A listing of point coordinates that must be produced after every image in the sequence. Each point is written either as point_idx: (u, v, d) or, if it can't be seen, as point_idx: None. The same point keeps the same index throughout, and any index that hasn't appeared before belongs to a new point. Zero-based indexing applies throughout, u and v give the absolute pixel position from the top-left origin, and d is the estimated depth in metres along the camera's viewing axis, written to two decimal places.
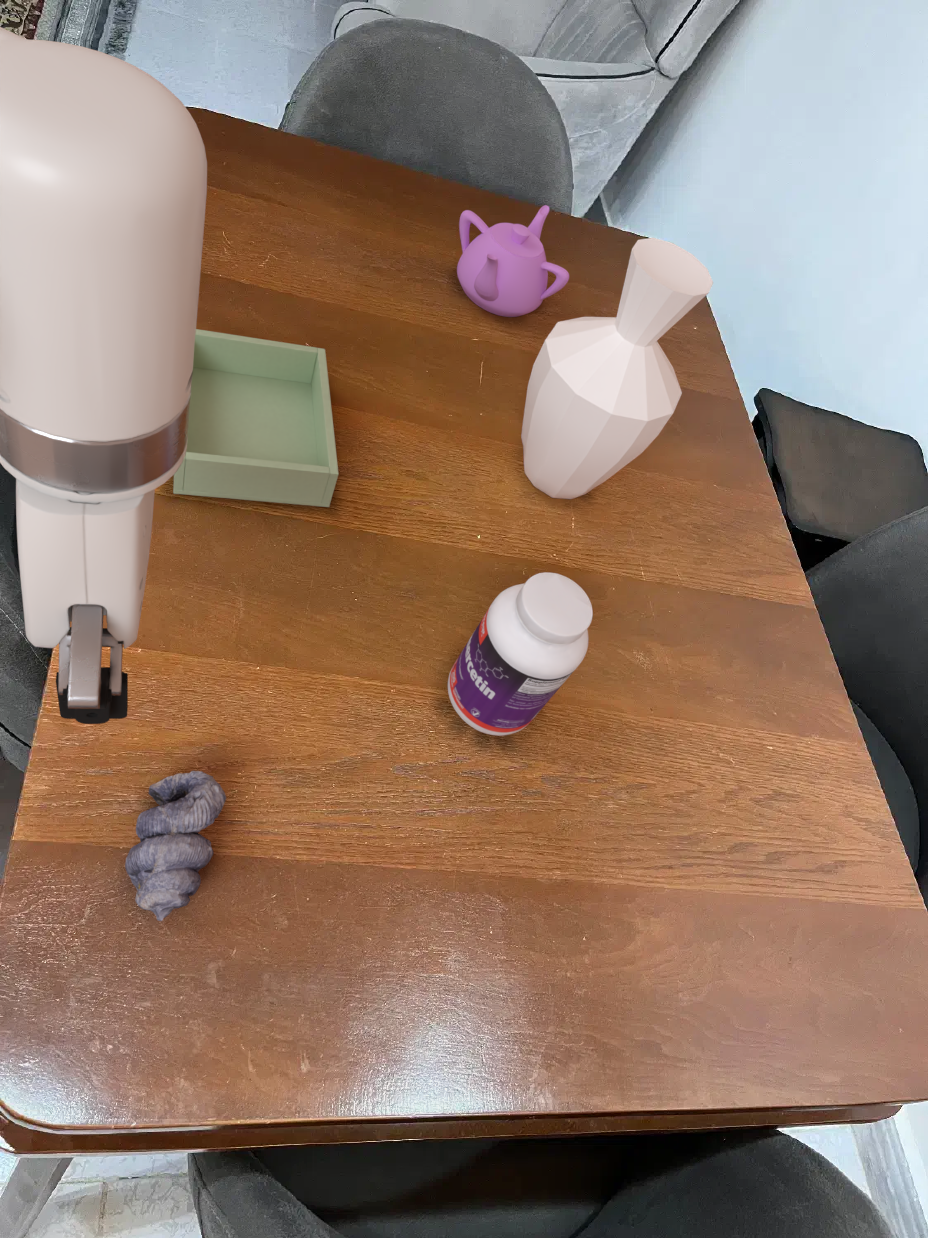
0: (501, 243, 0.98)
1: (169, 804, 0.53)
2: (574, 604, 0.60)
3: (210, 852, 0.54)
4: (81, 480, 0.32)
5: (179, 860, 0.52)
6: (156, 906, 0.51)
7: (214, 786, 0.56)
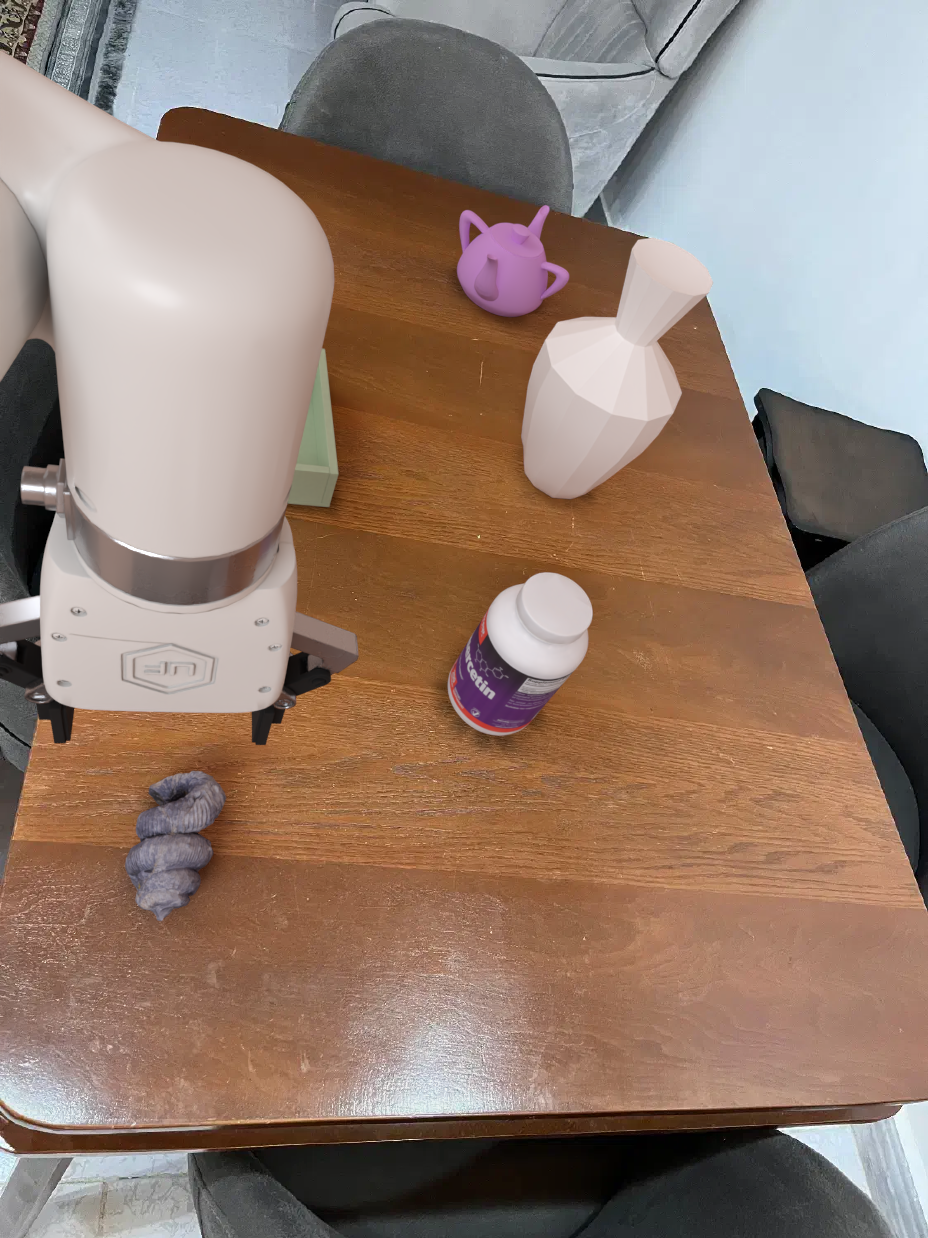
0: (501, 243, 0.98)
1: (169, 804, 0.53)
2: (574, 604, 0.60)
3: (210, 852, 0.54)
4: None
5: (179, 860, 0.52)
6: (156, 906, 0.51)
7: (214, 786, 0.56)
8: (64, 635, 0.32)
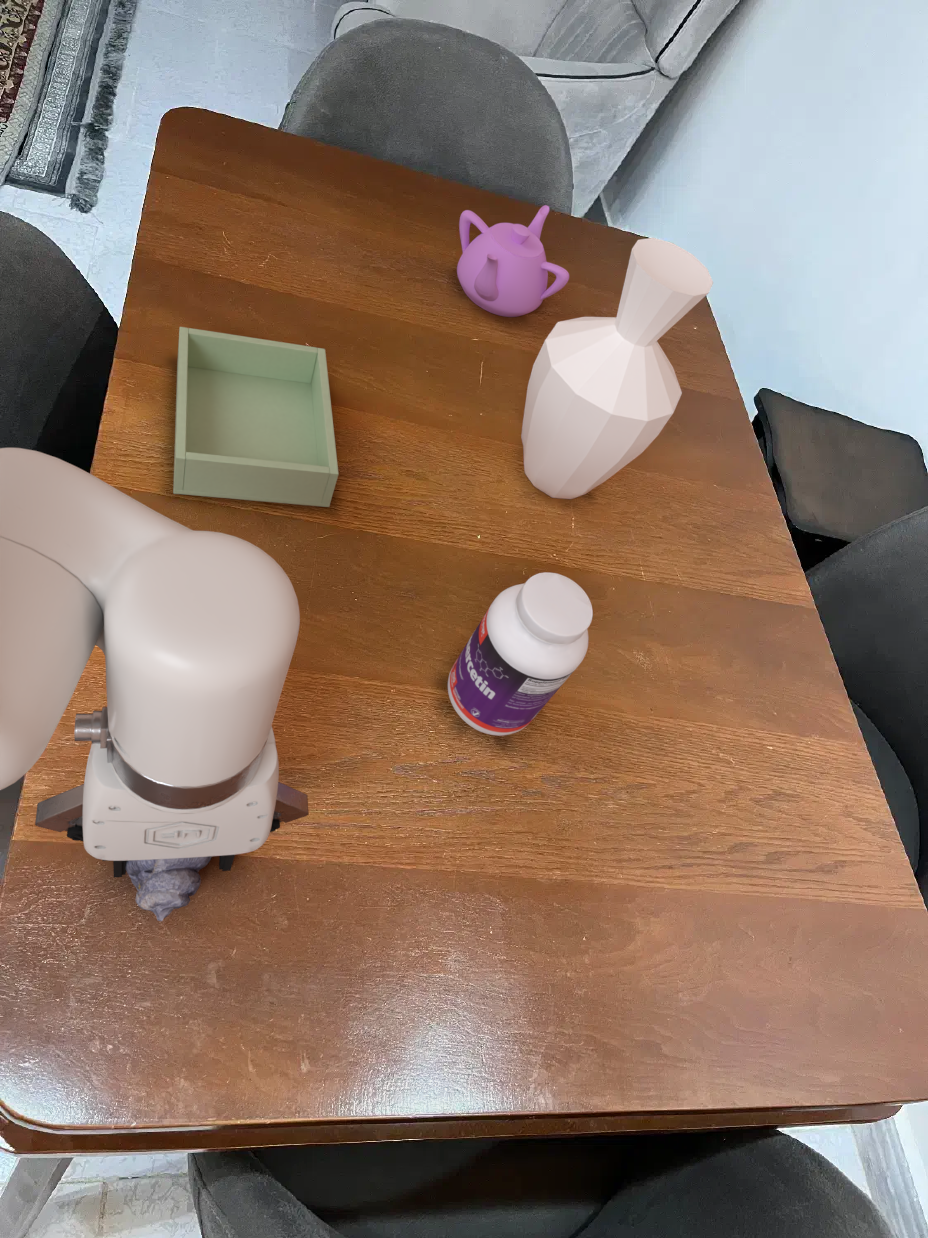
0: (501, 243, 0.98)
1: None
2: (574, 604, 0.60)
3: None
4: None
5: (179, 860, 0.52)
6: (156, 906, 0.51)
7: None
8: (102, 821, 0.43)
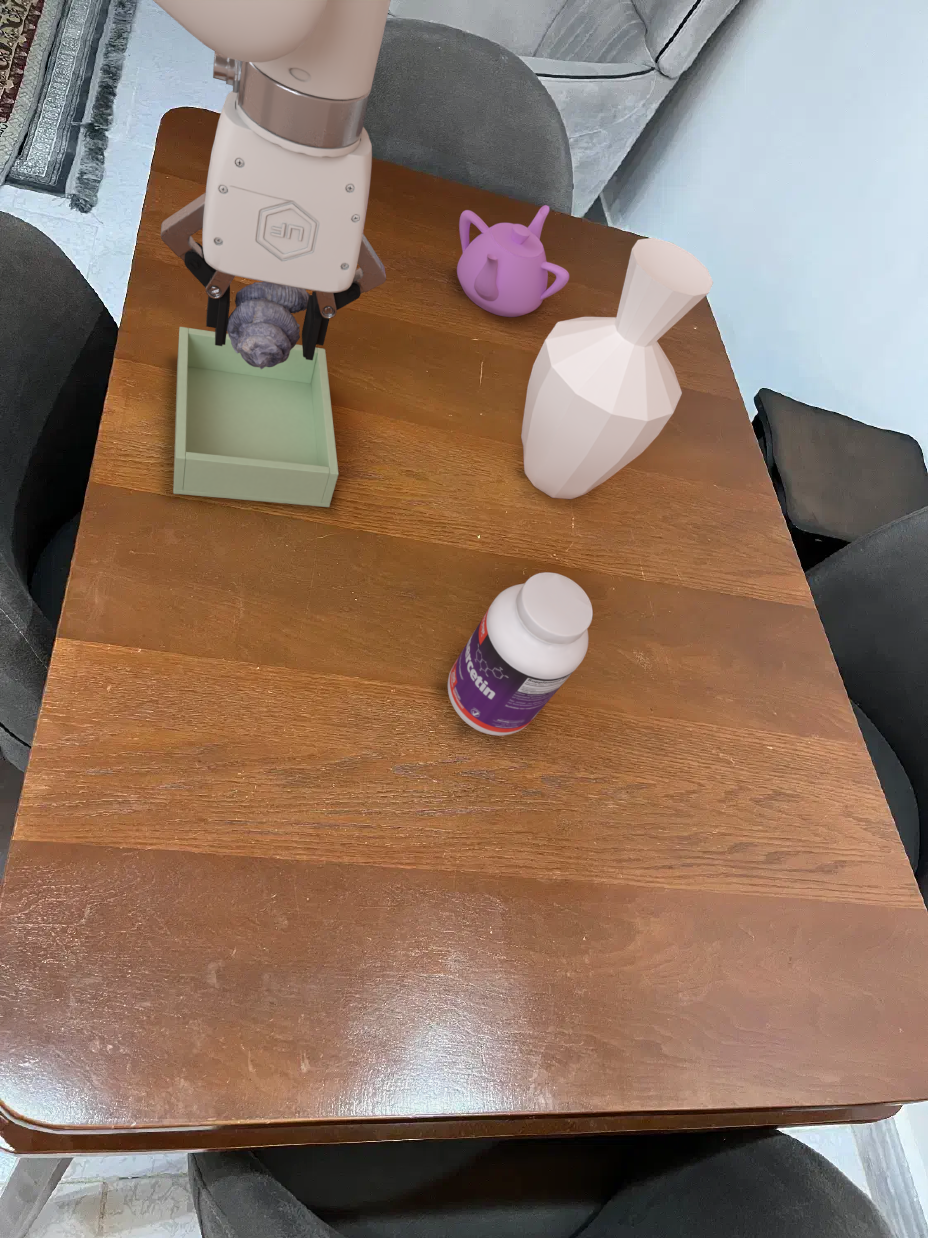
0: (501, 243, 0.98)
1: None
2: (574, 604, 0.60)
3: (298, 328, 0.62)
4: None
5: (274, 316, 0.60)
6: (256, 348, 0.59)
7: None
8: (227, 187, 0.51)
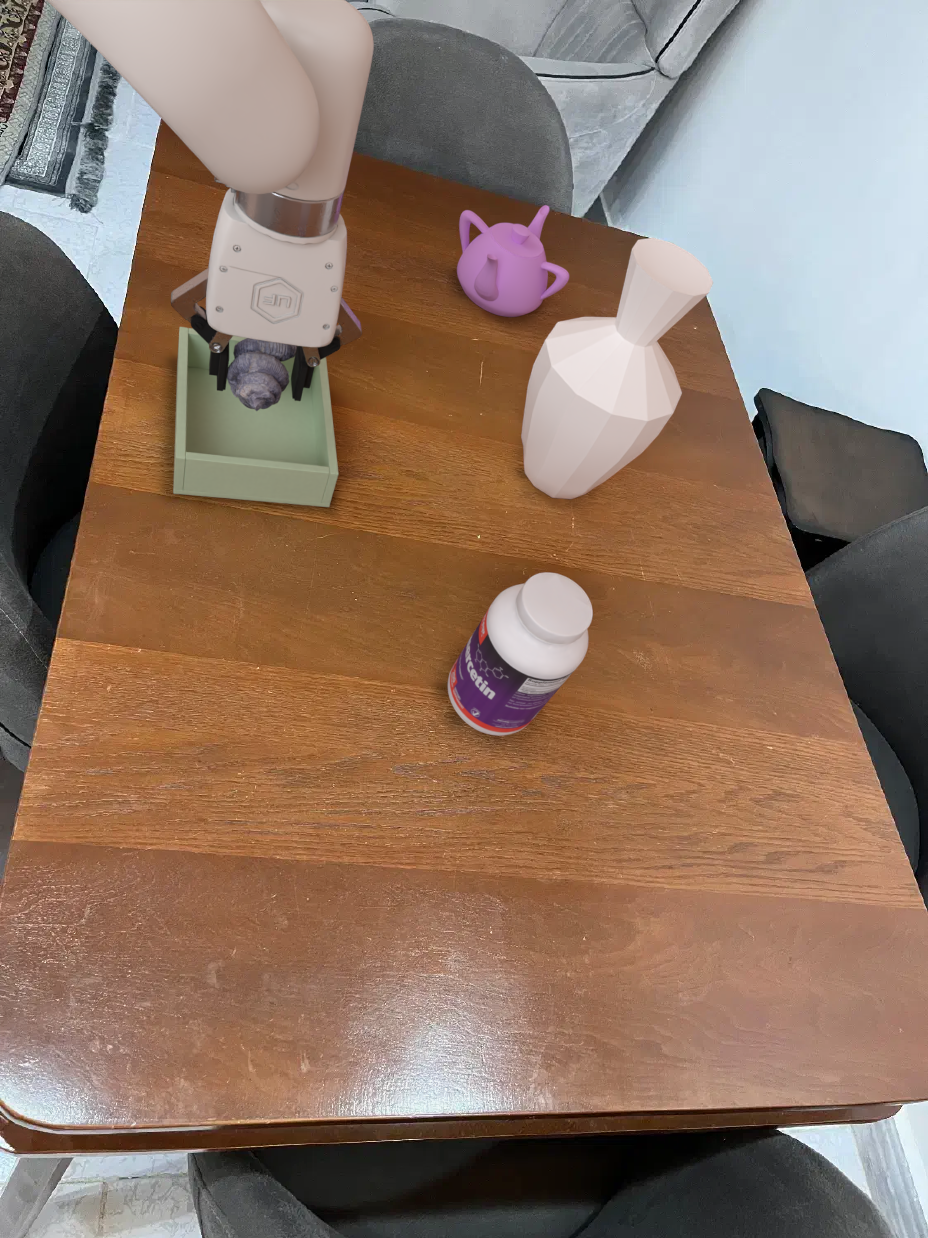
0: (501, 243, 0.98)
1: None
2: (574, 604, 0.60)
3: (288, 375, 0.73)
4: None
5: (267, 366, 0.71)
6: (252, 394, 0.70)
7: None
8: (226, 267, 0.62)
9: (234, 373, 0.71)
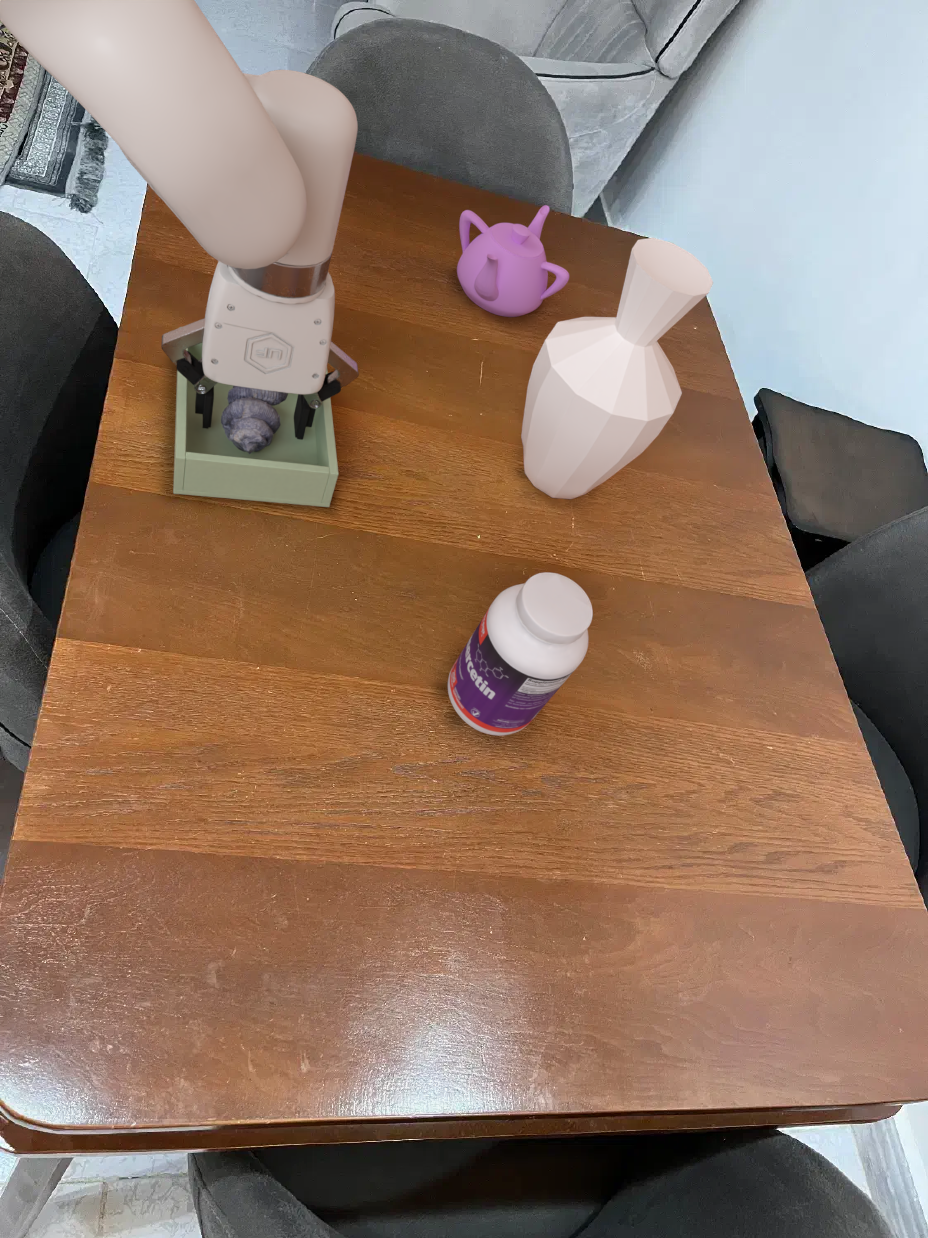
0: (501, 243, 0.98)
1: None
2: (574, 604, 0.60)
3: (279, 418, 0.77)
4: None
5: (259, 412, 0.75)
6: (245, 438, 0.74)
7: None
8: (221, 324, 0.66)
9: (228, 418, 0.75)
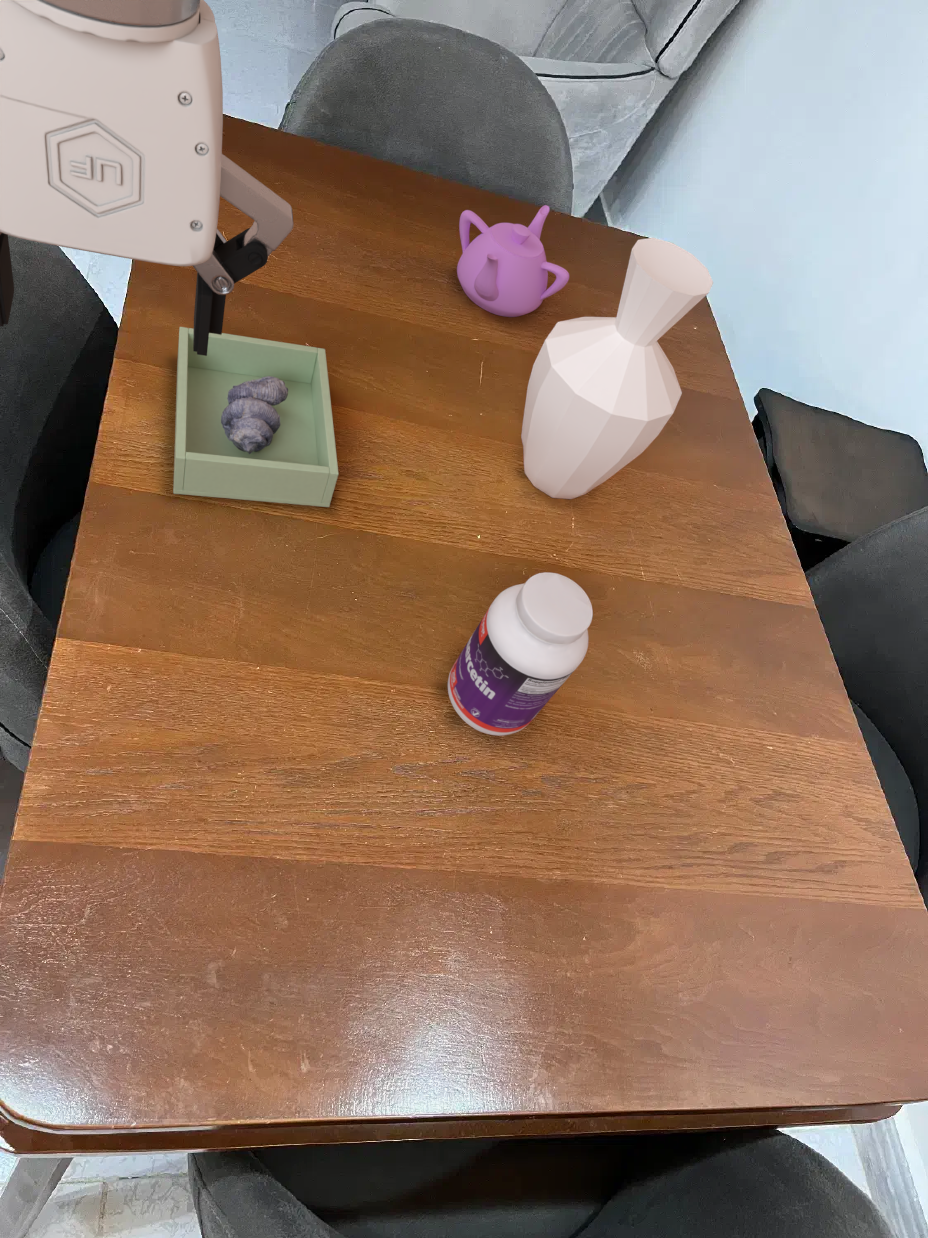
0: (501, 243, 0.98)
1: (250, 381, 0.76)
2: (574, 604, 0.60)
3: (279, 418, 0.77)
4: None
5: (259, 412, 0.75)
6: (245, 438, 0.74)
7: (280, 380, 0.78)
8: None
9: (228, 418, 0.75)
